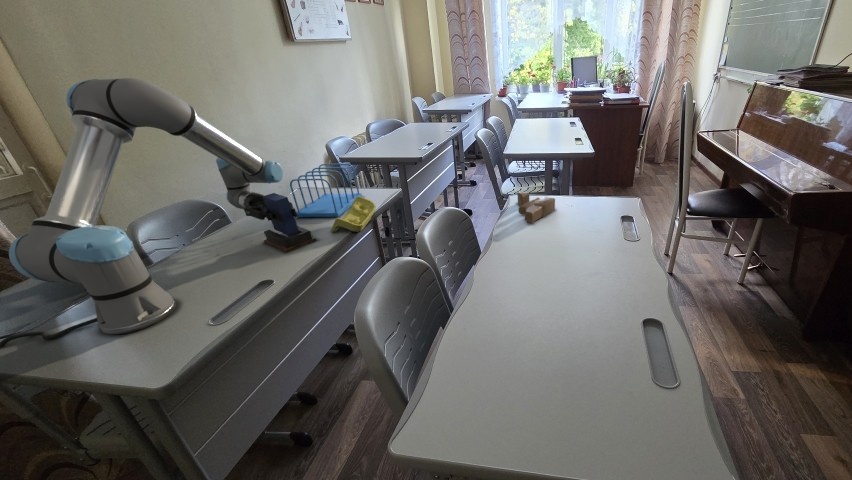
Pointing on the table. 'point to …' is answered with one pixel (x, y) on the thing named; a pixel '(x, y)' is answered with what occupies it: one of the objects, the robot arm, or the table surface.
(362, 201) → the plastic component
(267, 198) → the navy blue rectangular block
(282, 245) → the dark brown block holder
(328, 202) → the file sorter
